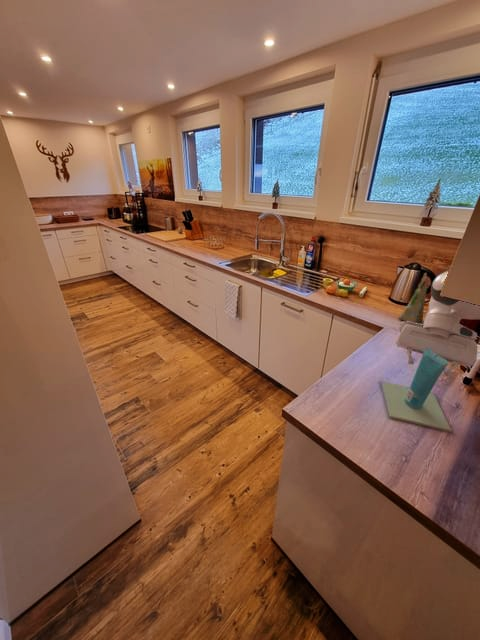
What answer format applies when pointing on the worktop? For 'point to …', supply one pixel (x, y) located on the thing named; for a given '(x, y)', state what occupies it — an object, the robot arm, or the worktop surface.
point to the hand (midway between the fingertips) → (427, 369)
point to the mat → (423, 416)
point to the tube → (425, 378)
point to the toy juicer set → (341, 287)
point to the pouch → (416, 303)
